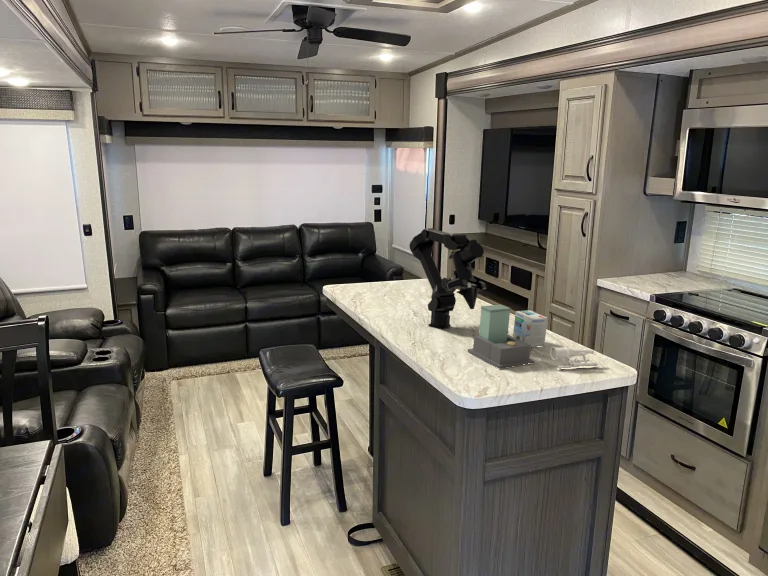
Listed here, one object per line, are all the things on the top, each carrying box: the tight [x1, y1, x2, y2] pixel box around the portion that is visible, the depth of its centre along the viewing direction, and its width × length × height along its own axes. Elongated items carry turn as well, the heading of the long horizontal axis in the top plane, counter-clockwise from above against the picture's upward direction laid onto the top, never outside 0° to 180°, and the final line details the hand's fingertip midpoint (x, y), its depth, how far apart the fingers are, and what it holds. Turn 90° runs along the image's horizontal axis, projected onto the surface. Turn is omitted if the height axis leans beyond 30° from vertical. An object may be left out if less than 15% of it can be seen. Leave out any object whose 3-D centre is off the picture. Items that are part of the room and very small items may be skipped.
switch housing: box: [467, 334, 535, 369], centre depth 187 cm, size 17×14×7 cm
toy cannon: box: [549, 346, 599, 369], centre depth 182 cm, size 8×14×5 cm
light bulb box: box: [512, 309, 548, 348], centre depth 204 cm, size 11×7×11 cm, turn 21°
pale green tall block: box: [478, 304, 511, 344], centre depth 190 cm, size 5×8×15 cm, turn 117°
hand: (472, 309), depth 201 cm, fingers closed
